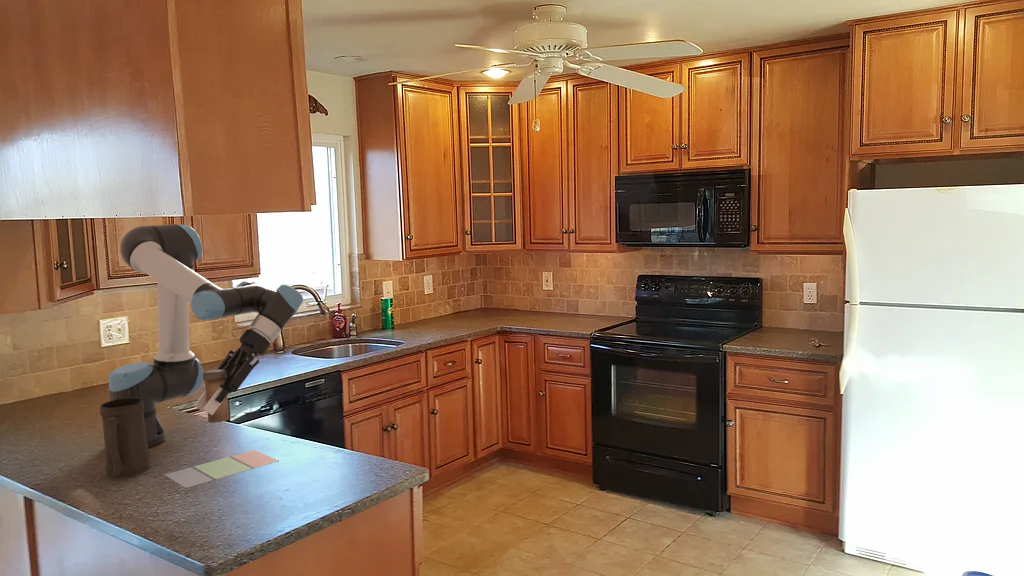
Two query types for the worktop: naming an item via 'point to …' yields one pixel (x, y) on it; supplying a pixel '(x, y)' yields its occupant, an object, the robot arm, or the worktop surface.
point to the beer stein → (125, 437)
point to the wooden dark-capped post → (211, 386)
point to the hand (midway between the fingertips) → (203, 410)
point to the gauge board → (220, 468)
